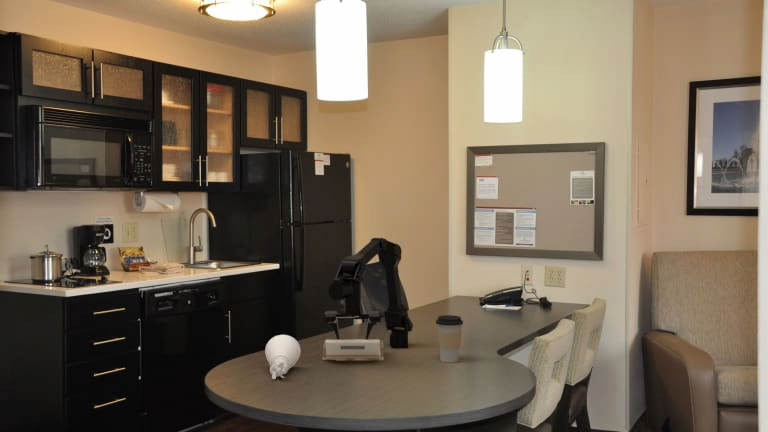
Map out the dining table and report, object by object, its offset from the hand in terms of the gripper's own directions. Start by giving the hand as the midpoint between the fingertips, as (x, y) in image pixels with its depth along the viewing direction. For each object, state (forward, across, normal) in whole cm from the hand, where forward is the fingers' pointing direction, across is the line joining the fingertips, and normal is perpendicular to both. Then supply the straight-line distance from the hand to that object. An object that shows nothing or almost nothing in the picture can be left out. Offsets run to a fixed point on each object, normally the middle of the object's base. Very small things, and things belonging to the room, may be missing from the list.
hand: (352, 341), depth 242 cm
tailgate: (+6, 0, -4) cm, 7 cm away
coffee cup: (+8, -33, -4) cm, 34 cm away
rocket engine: (+8, +24, +13) cm, 28 cm away
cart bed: (+8, 0, -11) cm, 14 cm away
